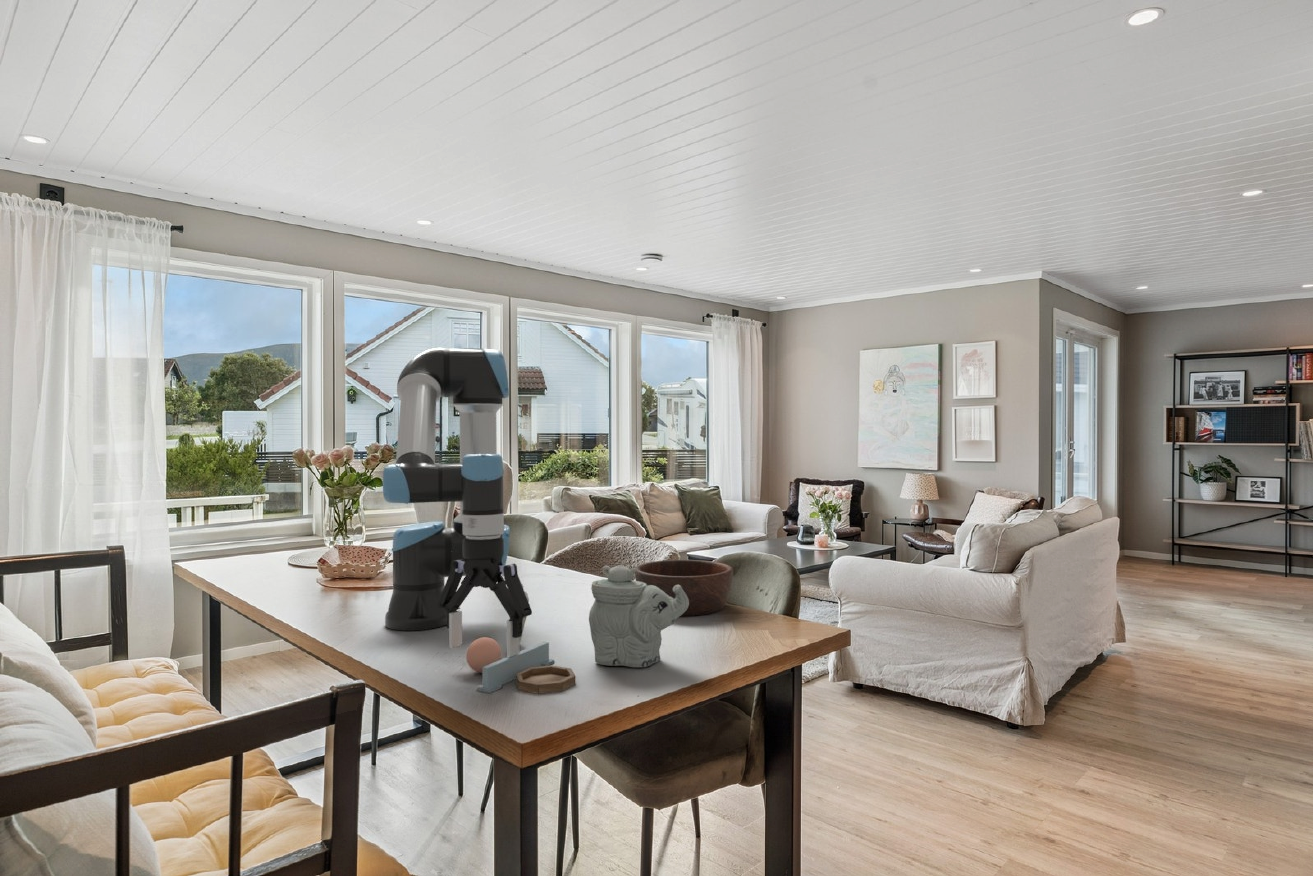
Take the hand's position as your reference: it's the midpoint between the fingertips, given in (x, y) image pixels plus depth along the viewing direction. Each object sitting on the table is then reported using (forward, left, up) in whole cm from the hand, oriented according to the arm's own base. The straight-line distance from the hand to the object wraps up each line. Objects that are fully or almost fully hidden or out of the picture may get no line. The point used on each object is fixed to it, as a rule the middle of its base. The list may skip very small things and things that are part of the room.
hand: (484, 651), depth 141 cm
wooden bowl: (+11, +64, -4) cm, 65 cm away
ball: (0, 0, -4) cm, 4 cm away
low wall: (+7, +1, -4) cm, 8 cm away
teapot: (+23, +18, -4) cm, 29 cm away
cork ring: (+14, 0, -4) cm, 14 cm away
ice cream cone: (-6, +18, -4) cm, 20 cm away
